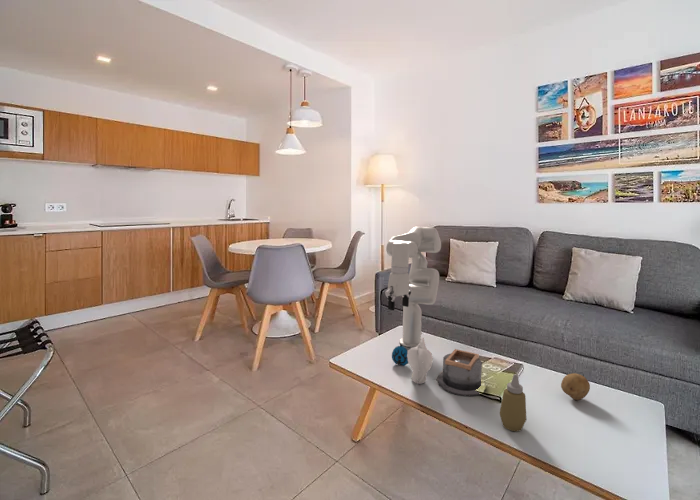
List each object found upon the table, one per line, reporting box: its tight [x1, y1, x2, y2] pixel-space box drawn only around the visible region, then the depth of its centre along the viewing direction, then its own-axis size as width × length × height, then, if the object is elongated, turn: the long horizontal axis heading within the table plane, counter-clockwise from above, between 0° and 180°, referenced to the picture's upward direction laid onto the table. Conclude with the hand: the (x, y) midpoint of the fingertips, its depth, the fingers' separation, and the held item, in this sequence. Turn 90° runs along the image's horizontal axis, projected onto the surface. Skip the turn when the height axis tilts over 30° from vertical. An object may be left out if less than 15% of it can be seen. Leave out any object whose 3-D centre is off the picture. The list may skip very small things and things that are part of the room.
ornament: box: [391, 343, 409, 367], centre depth 162 cm, size 8×5×10 cm, turn 66°
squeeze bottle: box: [499, 374, 527, 432], centre depth 117 cm, size 8×8×18 cm
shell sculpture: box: [407, 337, 434, 385], centre depth 146 cm, size 8×8×18 cm
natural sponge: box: [560, 372, 591, 401], centre depth 135 cm, size 9×9×10 cm
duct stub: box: [437, 348, 483, 397], centre depth 145 cm, size 19×19×12 cm
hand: (398, 307), depth 160 cm, fingers open, 9 cm apart
